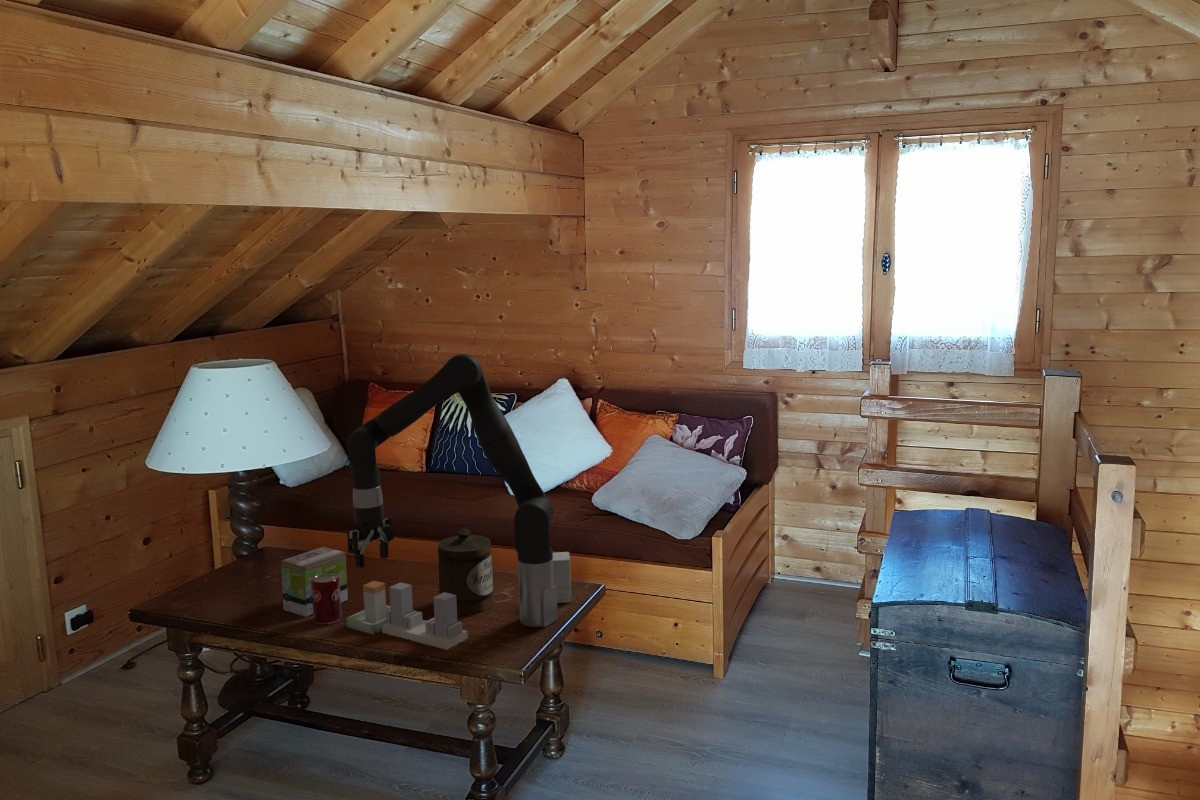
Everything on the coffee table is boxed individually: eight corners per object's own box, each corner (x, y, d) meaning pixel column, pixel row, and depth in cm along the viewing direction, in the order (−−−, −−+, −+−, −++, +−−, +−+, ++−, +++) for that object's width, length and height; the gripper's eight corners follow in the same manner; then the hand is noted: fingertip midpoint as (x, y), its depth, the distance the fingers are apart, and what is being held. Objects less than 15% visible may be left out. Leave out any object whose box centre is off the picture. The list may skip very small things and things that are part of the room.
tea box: (307, 618, 253) (303, 566, 251) (283, 611, 259) (279, 560, 256) (349, 600, 266) (346, 550, 264) (325, 594, 271) (322, 545, 269)
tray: (406, 618, 252) (405, 609, 251) (373, 634, 242) (373, 625, 241) (378, 611, 257) (378, 603, 256) (346, 627, 247) (345, 618, 246)
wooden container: (483, 616, 252) (480, 538, 249) (432, 613, 255) (428, 535, 252) (500, 596, 267) (497, 522, 263) (451, 593, 270) (447, 520, 266)
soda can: (313, 627, 247) (310, 583, 245) (314, 616, 254) (311, 574, 252) (341, 623, 249) (339, 580, 247) (341, 613, 256) (339, 571, 254)
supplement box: (571, 593, 268) (570, 551, 266) (571, 603, 261) (570, 559, 259) (545, 594, 268) (544, 552, 266) (544, 604, 260) (543, 560, 258)
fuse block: (467, 638, 238) (465, 593, 236) (447, 650, 231) (445, 603, 229) (403, 622, 249) (401, 579, 248) (382, 632, 243) (379, 588, 241)
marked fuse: (387, 618, 250) (385, 583, 248) (376, 624, 246) (374, 588, 245) (375, 616, 252) (373, 580, 250) (364, 621, 248) (362, 585, 247)
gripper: (358, 511, 236) (363, 573, 238) (397, 498, 248) (402, 556, 250) (337, 508, 240) (342, 568, 242) (377, 495, 252) (381, 552, 254)
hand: (372, 562), depth 246 cm, fingers open, 8 cm apart
